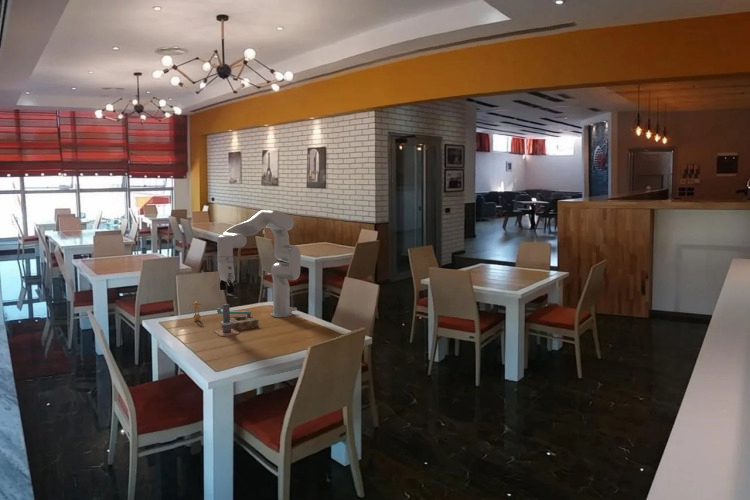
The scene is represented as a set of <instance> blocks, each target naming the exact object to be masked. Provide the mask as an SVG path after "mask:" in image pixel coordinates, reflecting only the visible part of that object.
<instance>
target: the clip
mask: <svg viewBox="0 0 750 500" xmlns="http://www.w3.org/2000/svg"><path fill="white" fill-rule="evenodd" d="M216 312H217V314H220V315H223V310H222V309H221V307H218V308H216ZM240 314H241V315H247V314H252V311H251V310H237V311H236V310H230V315H240Z"/></svg>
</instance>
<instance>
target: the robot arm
mask: <svg viewBox="0 0 750 500" xmlns="http://www.w3.org/2000/svg"><path fill="white" fill-rule="evenodd" d="M294 225H295V223H294V219H293V217H292V216H290V215H289V214H286V213H284V212H281V211H280V210H274V209H261V210H259V211H258V212H257V213H255V215H253V216H252V217H250V218H249V219H248V220H246V221H243V222H240V223H238V224H236V225H233V226H231V227H229V228H228V229H227V230H225V231H224V232H223V233H222V234H221V235H219V236H217V241H216V242H217V261H218V277H219V278H218V280H219V289H220V291H223V290H224V291H225V290H227V291H226V293H227V294H229V295H230V294H234V293H235V291H234V288H235V287H234V285H235V284H234V283H235V281H236V279H235V277H236V276H235V267H234V249H241V248H244V247H245V246H246V244H247V242H248V239H247V237H249V236H254V235H257V234H258V233H259V232H260V231H262V229H264V228H265V227H266V226H267V228H268V229H270V231H271V232H272V234H273V236H274V237H273V238H274V248H273V250H274V252H273V253H274V258H275V259H276V260H278V262H276V263H275V262H274V264H272V266H271V270H270V271H271V277H272V292H273V293H272V297H273V301H272V307H273V310H272V311H273V312H271V313H270V316H271V317H272V318H279V319H280V318H288V317H289V318H290V317H291V316H293V312H296V311H297V310H298V308H297V307H293V306H290V283H289V281H296V280H298V279H299V278H300V275H301V264H302V263H301V261H302V260H301V259H302V258H301V257H302V256H301V255H302V254H301V249H300V247H299V246H297V245H294V244H290V235H289V232H288V231H290V230H292V229H293V228H294ZM279 261H280V262H279ZM281 261H283V262H281ZM284 261H286V262H284Z"/></svg>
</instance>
